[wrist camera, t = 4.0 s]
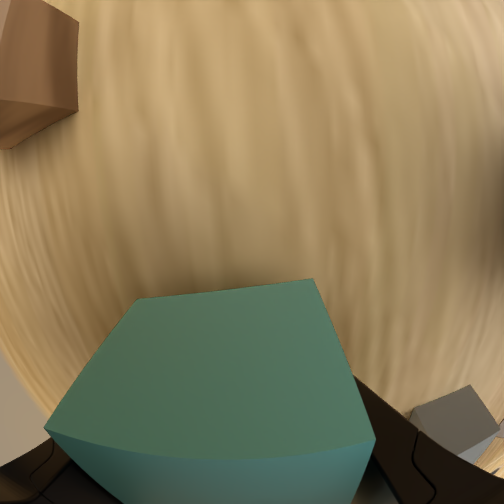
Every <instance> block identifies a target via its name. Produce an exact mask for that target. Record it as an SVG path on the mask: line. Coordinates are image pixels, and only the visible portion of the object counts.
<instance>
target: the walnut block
mask: <svg viewBox="0 0 504 504" xmlns="http://www.w3.org/2000/svg"><path fill="white" fill-rule="evenodd" d="M78 30H79V22H78V21H76V20H75V19H73V18H72V17H70V16H68V15H67V14H65V13H63V12H62V11H60V10H58V9H56V8H55V7H53V6H51V5H49V4H48V3H46V2H44V1H42V0H0V150H2V149H11V148H13V147H14V146H16V145H17V144H19V143H20V142H22V141H24V140H25V139H27V138H28V137H30V136H32V135H34V134H35V133H37V132H39V131H41V130H42V129H44V128H46V127H48V126H50V125H51V124H53V123H55V122H57V121H59V120H61V119H63V118H65V117H67V116H69V115H71V114H73V113H75V112H77V111H79V110H78V91H77V48H78Z"/></svg>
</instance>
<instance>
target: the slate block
mask: <svg viewBox="0 0 504 504" xmlns="http://www.w3.org/2000/svg"><path fill="white" fill-rule="evenodd" d="M409 421H410V422H411V423H412V424H414V425H415V426H416V427H417V428H419V431H420V430H421V431H423V432H424V433H425V434H426V435H428V436H429V437H430V438H432V439H433V440H434V441H436V442H437V443H438V444H440V445H441V446H443V447H444V448H446V449H447V450H449V451H450V452H452V453H454V454H455V455H457V456H459V457H460V458H462V459H464V460H466V461H468V462H469V463H471V464H474V463H475V462H476V461H477V459H478V458H479V457H480V456H481V455H482V453H483V452H484V451H485V450H486V448H487V447H488V446H489V445H490V443H491V442H492V441H493V439H494V438H495V437H496V435H497V434H498V433H499V431H500V430H501V429H500V427H499V426H498V424H497V422H496V421H495V419H494V418H493V416H492V415H491V413H490V412H489V411H488V409H487V408H486V406H485V405H484V403H483V402H482V400H481V399H480V398H479V396H478V395H477V393H476V392H475V391H474V389H473V388H472V387H471V385H468V386H466V387H464V388H462V389H460V390H457V391H455V392H453V393H450V394H448V395H446V396H443V397H441V398H439V399H436V400H433V401H431V402H428V403H426V404H423V405H420V406H417V407H415V408H414V409H413V412H412V414H411V417H410V419H409Z"/></svg>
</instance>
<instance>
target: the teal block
mask: <svg viewBox="0 0 504 504" xmlns="http://www.w3.org/2000/svg"><path fill="white" fill-rule="evenodd" d="M44 429H45V430H46V431H47V432H48V434H49V435H50V436H51V437H52V438H53V439H54V440H55V442H56V443H57V444H58V445H59V446H60V447H61V448H62V449H63V450H64V451H65V452H66V453H67V454H68V455H69V456H70V457H71V458H72V459H73V460H74V461H75V462H76V463H77V464H78V465H79V466H80V467H81V468H82V469H83V470H84V471H85V472H86V473H87V474H88V475H89V476H91V477H92V478H93V479H94V480H95V481H96V482H97V483H99V484H100V485H101V486H102V487H103V488H105V489H106V490H107V491H108V492H110V493H111V494H112V495H113V496H115V497H116V498H117V499H119V500H120V501H121V502H123V503H124V504H351V502H352V499H353V497H354V495H355V493H356V491H357V488H358V486H359V484H360V481H361V479H362V476H363V474H364V471H365V469H366V466H367V464H368V461H369V458H370V456H371V453H372V450H373V447H374V444H375V441H376V438H375V435H374V432H373V429H372V426H371V423H370V420H369V418H368V415H367V412H366V409H365V407H364V404H363V401H362V398H361V396H360V393H359V390H358V388H357V385H356V382H355V380H354V377H353V374H352V372H351V369H350V367H349V364H348V362H347V359H346V357H345V354H344V351H343V349H342V346H341V344H340V342H339V339H338V337H337V334H336V332H335V329H334V327H333V324H332V322H331V320H330V317H329V315H328V312H327V310H326V308H325V305H324V303H323V301H322V298H321V296H320V294H319V291H318V289H317V287H316V284H315V282H314V280H313V278H312V279H305V280H298V281H291V282H284V283H276V284H269V285H261V286H253V287H245V288H237V289H229V290H220V291H211V292H202V293H193V294H184V295H174V296H164V297H153V298H142V299H137V300H136V301H135V302H134V303H133V305H132V306H131V307H130V308H129V310H128V311H127V312H126V313H125V315H124V316H123V317H122V318H121V320H120V321H119V322H118V324H117V325H116V326H115V327H114V329H113V330H112V331H111V333H110V334H109V335H108V337H107V338H106V339H105V340H104V342H103V343H102V344H101V346H100V347H99V348H98V350H97V351H96V352H95V354H94V355H93V356H92V358H91V359H90V361H89V362H88V363H87V365H86V366H85V367H84V369H83V370H82V372H81V373H80V374H79V376H78V377H77V379H76V380H75V381H74V383H73V384H72V386H71V387H70V389H69V390H68V391H67V393H66V394H65V396H64V397H63V399H62V400H61V402H60V403H59V405H58V406H57V408H56V409H55V411H54V412H53V414H52V415H51V417H50V418H49V420H48V421H47V423H46V425H45V426H44Z"/></svg>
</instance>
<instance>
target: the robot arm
mask: <svg viewBox="0 0 504 504" xmlns="http://www.w3.org/2000/svg"><path fill="white" fill-rule="evenodd" d="M353 377H354V380H355V382H356V385H357V388H358V390H359V393H360V396H361V398H362V401H363V404H364V407H365V409H366V412H367V415H368V418H369V420H370V423H371V426H372V429H373V432H374V435H375V438H376V441H375V444H374V447H373V450H372V453H371V456H370V458H369V461H368V464H367V466H366V469H365V471H364V474H363V476H362V479H361V481H360V484H359V486H358V488H357V491H356V493H355V495H354V497H353V499H352V502H351V504H504V479H503V478H500V477H497V476H495V475H493V474H491V473H489V472H487V471H485V470H483V469H481V468H479V467H477V466H475V465H473V464H471V463H469V462H468V461H466V460H464V459H462V458H460V457H459V456H457V455H455V454H454V453H452V452H450V451H449V450H447V449H446V448H444V447H443V446H441V445H440V444H438V443H437V442H436V441H434V440H433V439H432V438H430V437H429V436H428V435H426V434H425V433H424V432H423V431H421V430H420V431H419V428H417V427H416V426H415V425H414V424H412V423H411V422H410V421H409V420H407V419H406V418H405V417H404V416H402V415H401V414H400V413H399V412H397V411H396V410H395V409H394V408H393V407H391V406H390V405H389V404H388V403H386V402H385V401H384V400H383V399H382V398H380V397H379V396H378V395H377V394H376V393H374V392H373V391H372V390H371V389H369V388H368V387H367V386H366V385H365V384H363V383H362V382H361V381H360V380H359V379H358V378H356V377H355V376H354V375H353ZM0 504H124V503H123V502H121V501H120V500H119V499H117V498H116V497H115V496H113V495H112V494H111V493H110V492H108V491H107V490H106V489H105V488H103V487H102V486H101V485H100V484H99V483H97V482H96V481H95V480H94V479H93V478H92V477H91V476H89V475H88V474H87V473H86V472H85V471H84V470H83V469H82V468H81V467H80V466H79V465H78V464H77V463H76V462H75V461H74V460H73V459H72V458H71V457H70V456H69V455H68V454H67V453H66V452H65V451H64V450H63V449H62V448H61V447H60V446H59V445H58V444H57V443H56V442H55V440H54V439H53V438H52V437H50V438H49V439H48V440H46V441H45V442H43V443H42V444H40V445H39V446H37V447H36V448H34V449H32V450H31V451H29V452H27V453H25V454H24V455H22V456H20V457H18V458H16V459H14V460H12V461H11V462H9V463H7V464H5V465H3V466H1V467H0Z"/></svg>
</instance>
